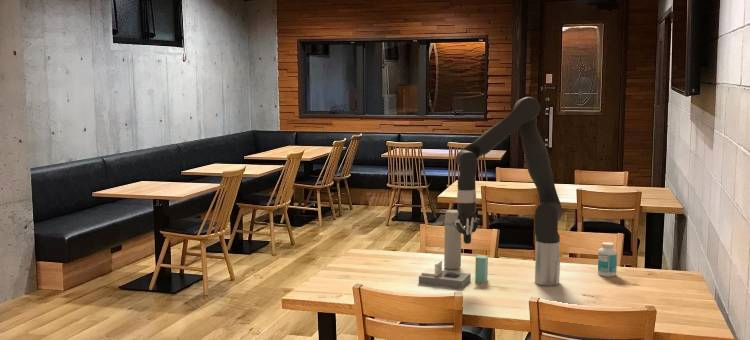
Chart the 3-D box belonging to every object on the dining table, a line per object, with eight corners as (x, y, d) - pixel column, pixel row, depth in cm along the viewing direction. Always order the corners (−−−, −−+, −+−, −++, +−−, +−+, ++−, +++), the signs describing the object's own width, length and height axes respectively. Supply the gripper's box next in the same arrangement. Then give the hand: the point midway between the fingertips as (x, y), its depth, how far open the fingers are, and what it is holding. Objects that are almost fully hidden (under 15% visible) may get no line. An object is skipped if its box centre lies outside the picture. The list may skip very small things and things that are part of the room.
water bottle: (462, 270, 318) (463, 212, 315) (444, 270, 318) (444, 212, 315) (460, 264, 327) (461, 208, 324) (442, 264, 328) (443, 208, 324)
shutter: (442, 272, 304) (442, 260, 303) (436, 276, 298) (436, 264, 297) (427, 270, 307) (427, 259, 306) (421, 274, 300) (421, 263, 300)
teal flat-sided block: (487, 279, 304) (487, 256, 302) (484, 282, 300) (485, 258, 299) (477, 278, 305) (478, 255, 304) (475, 281, 302) (475, 257, 300)
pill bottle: (614, 272, 314) (615, 241, 313) (618, 277, 307) (619, 245, 305) (595, 272, 315) (597, 241, 313) (599, 277, 308) (600, 245, 306)
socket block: (470, 280, 302) (470, 273, 302) (461, 288, 291) (462, 281, 291) (428, 276, 309) (428, 269, 309) (418, 283, 299) (418, 276, 298)
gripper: (473, 197, 302) (474, 239, 304) (447, 201, 295) (448, 244, 297) (485, 200, 296) (486, 242, 298) (459, 203, 289) (460, 247, 291)
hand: (467, 243), depth 298 cm, fingers closed
